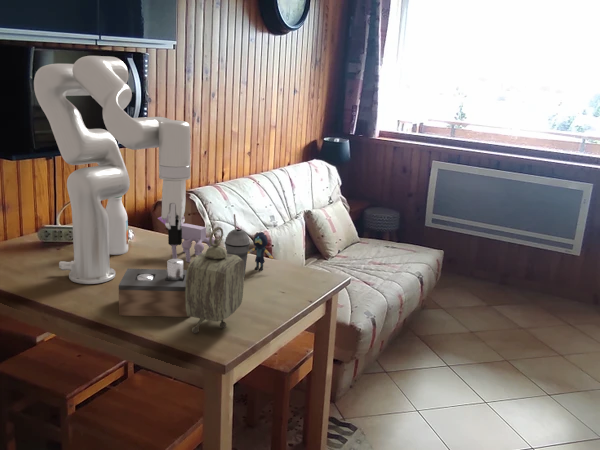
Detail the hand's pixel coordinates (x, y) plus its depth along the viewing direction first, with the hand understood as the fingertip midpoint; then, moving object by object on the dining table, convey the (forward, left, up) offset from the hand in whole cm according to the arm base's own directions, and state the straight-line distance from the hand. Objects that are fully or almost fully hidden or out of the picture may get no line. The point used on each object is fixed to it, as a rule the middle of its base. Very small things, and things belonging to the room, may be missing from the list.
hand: (175, 243), depth 153 cm
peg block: (-4, 0, -17) cm, 18 cm away
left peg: (-7, 0, -17) cm, 19 cm away
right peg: (0, 0, -13) cm, 13 cm away
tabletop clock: (+11, -11, -18) cm, 23 cm away
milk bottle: (-23, +43, -18) cm, 52 cm away
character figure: (+22, +30, -17) cm, 42 cm away
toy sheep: (-2, +41, -18) cm, 44 cm away
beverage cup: (+16, +20, -17) cm, 31 cm away
